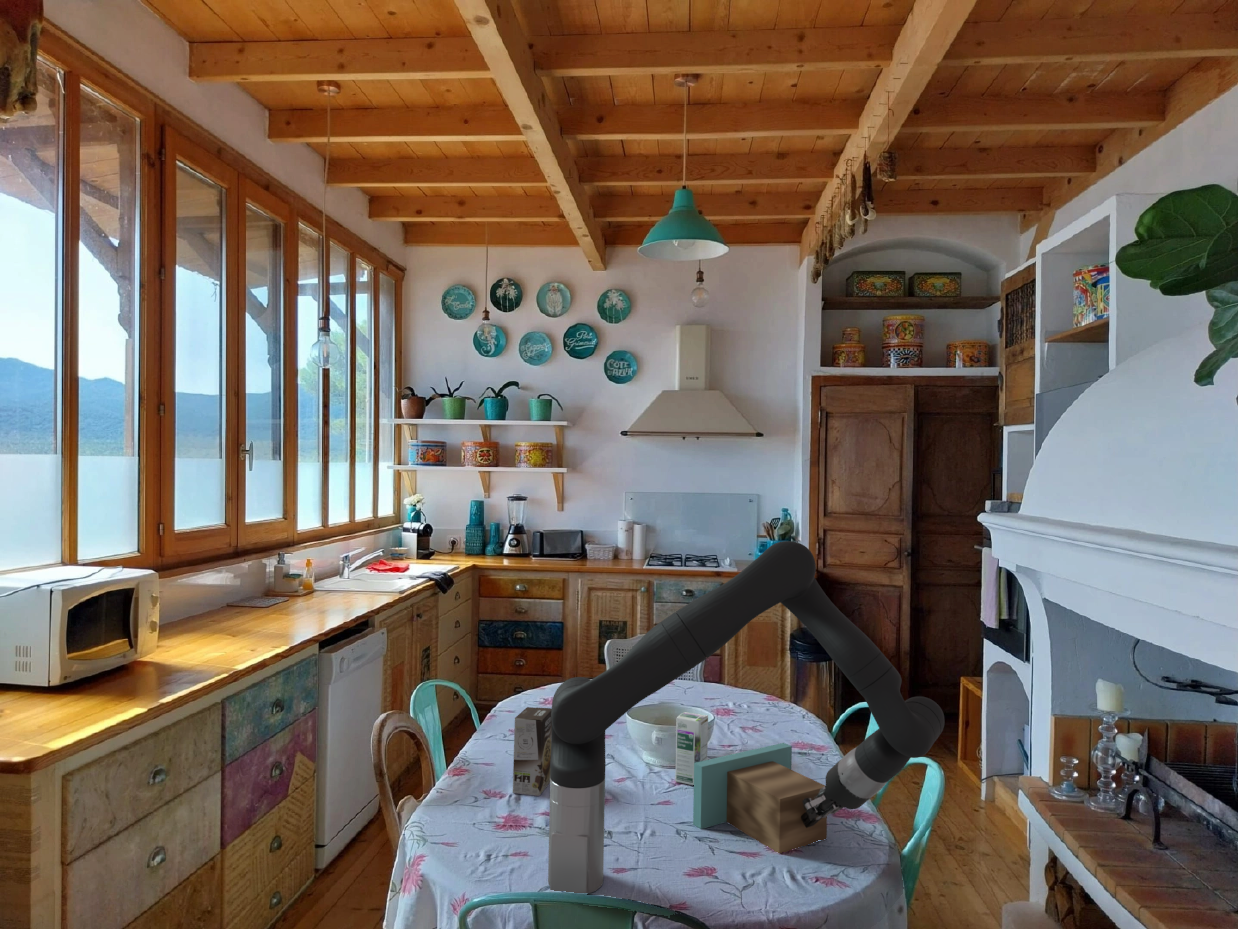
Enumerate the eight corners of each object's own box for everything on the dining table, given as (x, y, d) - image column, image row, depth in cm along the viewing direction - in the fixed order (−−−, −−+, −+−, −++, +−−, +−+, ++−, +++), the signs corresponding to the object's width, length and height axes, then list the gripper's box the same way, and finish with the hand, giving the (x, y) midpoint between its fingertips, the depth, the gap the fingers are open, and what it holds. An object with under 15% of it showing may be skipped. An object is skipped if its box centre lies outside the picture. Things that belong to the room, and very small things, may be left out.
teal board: (790, 803, 163) (791, 746, 163) (700, 829, 150) (701, 766, 150) (782, 799, 165) (783, 742, 165) (693, 824, 152) (694, 762, 152)
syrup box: (674, 782, 173) (675, 717, 174) (684, 773, 179) (685, 710, 179) (698, 787, 171) (699, 721, 171) (707, 778, 176) (708, 714, 176)
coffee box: (540, 796, 164) (542, 720, 164) (511, 793, 165) (513, 717, 166) (552, 780, 173) (554, 707, 173) (525, 777, 174) (526, 705, 175)
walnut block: (826, 839, 147) (827, 786, 147) (779, 854, 141) (780, 799, 141) (772, 810, 160) (772, 761, 160) (726, 822, 154) (727, 771, 154)
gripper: (871, 749, 139) (820, 795, 149) (819, 763, 132) (769, 810, 142) (896, 789, 135) (841, 834, 145) (843, 805, 128) (789, 851, 138)
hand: (805, 822), depth 144 cm, fingers closed
